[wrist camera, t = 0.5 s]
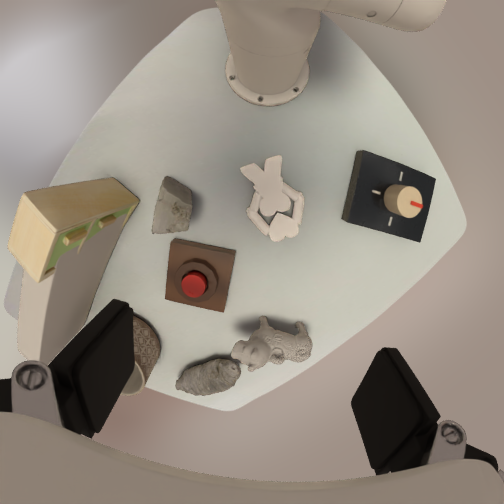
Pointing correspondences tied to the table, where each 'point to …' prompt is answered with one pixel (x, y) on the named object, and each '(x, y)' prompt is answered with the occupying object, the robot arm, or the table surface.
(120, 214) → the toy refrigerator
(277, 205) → the white abstract figurine
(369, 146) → the table surface
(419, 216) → the panel
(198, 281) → the button
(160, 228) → the mineral specimen
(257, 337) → the dog figurine
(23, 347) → the grey rectangular panel
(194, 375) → the seashell
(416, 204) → the knob
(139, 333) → the planter
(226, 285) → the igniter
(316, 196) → the table surface
